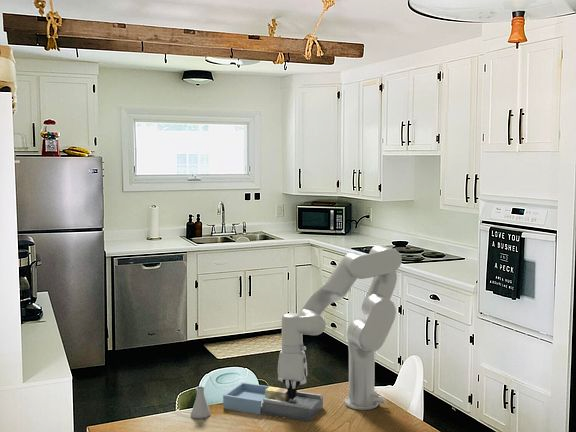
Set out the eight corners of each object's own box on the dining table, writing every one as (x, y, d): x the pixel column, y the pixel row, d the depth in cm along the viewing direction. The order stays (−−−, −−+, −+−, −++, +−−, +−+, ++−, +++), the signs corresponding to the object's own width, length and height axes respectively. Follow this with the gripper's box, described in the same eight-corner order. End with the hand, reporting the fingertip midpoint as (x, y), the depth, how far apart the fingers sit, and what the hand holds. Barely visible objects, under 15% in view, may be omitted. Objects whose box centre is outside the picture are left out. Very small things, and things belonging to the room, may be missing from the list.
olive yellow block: (279, 395, 225) (279, 387, 225) (275, 399, 222) (275, 391, 221) (269, 394, 227) (269, 386, 227) (265, 397, 223) (265, 389, 223)
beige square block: (289, 397, 224) (289, 389, 223) (285, 401, 220) (285, 393, 220) (279, 395, 225) (279, 387, 225) (275, 399, 221) (275, 391, 221)
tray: (277, 400, 232) (277, 387, 231) (260, 414, 218) (260, 401, 218) (242, 394, 238) (242, 382, 237) (223, 408, 224) (223, 395, 224)
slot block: (322, 407, 224) (322, 393, 224) (309, 422, 211) (309, 407, 211) (278, 400, 231) (278, 387, 231) (262, 414, 218) (262, 400, 218)
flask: (206, 419, 214) (206, 391, 213) (187, 418, 215) (186, 390, 214) (213, 412, 221) (213, 385, 220) (194, 410, 222) (194, 383, 221)
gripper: (315, 347, 220) (315, 397, 221) (277, 343, 226) (277, 391, 227) (307, 353, 213) (307, 404, 214) (268, 348, 219) (268, 398, 220)
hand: (292, 397), depth 221 cm, fingers closed
